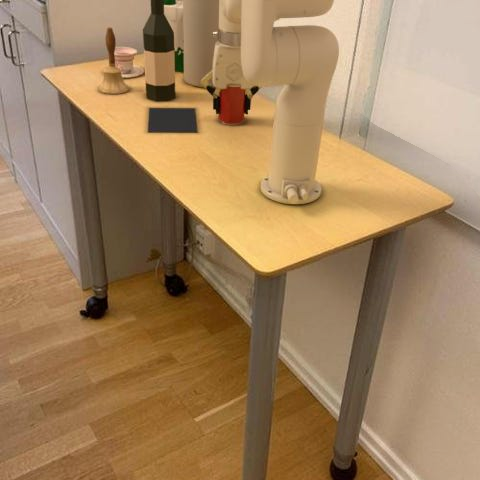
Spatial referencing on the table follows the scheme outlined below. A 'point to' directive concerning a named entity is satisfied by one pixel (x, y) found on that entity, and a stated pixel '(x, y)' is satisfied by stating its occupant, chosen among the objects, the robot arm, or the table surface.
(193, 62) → the cylinder vase
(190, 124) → the placemat
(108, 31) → the hand bell
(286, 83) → the robot arm
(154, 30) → the wine bottle
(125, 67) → the teacup
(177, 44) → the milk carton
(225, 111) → the tin can
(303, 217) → the table surface
